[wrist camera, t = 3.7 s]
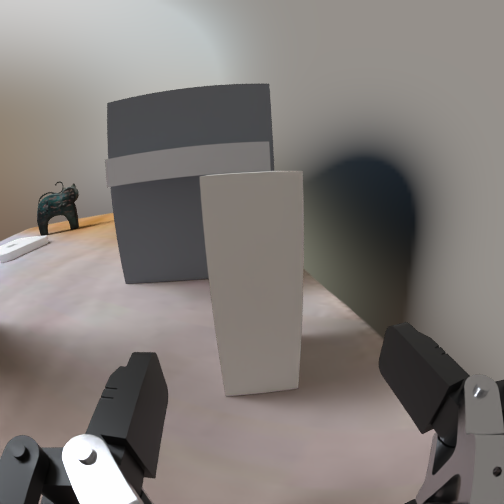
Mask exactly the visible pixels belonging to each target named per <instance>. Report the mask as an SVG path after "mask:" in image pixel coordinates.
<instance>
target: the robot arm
mask: <svg viewBox="0 0 504 504" xmlns="http://www.w3.org/2000/svg"><path fill="white" fill-rule="evenodd" d="M379 369H380V372H381V374H382V376H383V377H384V379H385V380H386V382H387V383H388V385H389V386H390V388H391V389H392V390H393V392H394V393H395V395H396V396H397V398H398V399H399V401H400V402H401V404H402V405H403V406H404V408H405V409H406V411H407V412H408V414H409V415H410V417H411V418H412V420H413V421H414V423H415V424H416V426H417V427H418V429H419V430H420V432H421V433H422V434H424V433H426V432H428V431H430V430H432V429H434V430H435V431H436V433H435V434H434V436H433V440H432V447H431V453H430V459H429V464H428V469H427V474H426V478H425V481H424V483H423V485H422V487H421V489H420V490H419V492H418V494H417V496H416V498H415V499H413V500H411V501H409V502H407V503H405V504H504V380H501V381H497V382H495V381H494V380H493V379H491V378H490V377H488V376H486V375H481V374H476V375H472V376H469V375H468V374H467V373H466V372H465V371H464V370H463V369H462V368H461V367H460V366H459V365H458V364H457V363H456V362H455V361H454V360H453V359H452V358H451V357H450V356H449V355H448V354H445V351H444V350H443V349H442V348H441V347H440V348H439V345H438V344H437V343H436V342H435V341H433V340H432V339H431V338H430V337H428V336H426V335H424V334H422V333H420V332H418V331H417V330H416V329H415V328H413V326H412V325H410V324H409V323H406V322H405V323H402V324H397V325H393V326H389V327H388V328H387V330H386V333H385V337H384V341H383V346H382V350H381V354H380V358H379ZM167 404H168V389H167V385H166V382H165V379H164V376H163V372H162V369H161V366H160V363H159V360H158V357H157V354H156V353H154V352H134V353H132V355H131V357H130V359H129V362H128V364H127V366H126V367H123V366H120V367H119V368H118V369H117V370H116V371H115V372H114V373H113V374H112V375H111V376H110V377H109V380H108V382H107V384H106V386H105V389H104V391H103V393H102V395H101V398H100V400H99V402H98V404H97V407H96V409H95V412H94V414H93V416H92V419H91V421H90V424H89V426H88V429H87V431H86V433H85V434H84V435H79V436H76V437H74V438H72V439H71V440H70V441H68V442H67V444H66V445H65V447H62V448H41V447H40V446H39V445H38V444H37V443H36V442H35V440H34V439H32V438H31V437H29V436H25V435H20V436H16V437H14V438H13V439H11V440H10V441H9V442H8V443H7V445H6V447H5V449H4V451H3V454H2V456H1V458H0V504H38V503H39V499H40V495H41V494H42V495H43V497H42V501H41V504H154V503H153V502H152V500H151V499H150V497H149V496H148V495H147V493H146V492H145V490H144V489H143V488H142V484H143V478H144V477H147V478H155V477H156V470H157V463H158V456H159V450H160V443H161V437H162V431H163V426H164V420H165V414H166V409H167Z"/></svg>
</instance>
